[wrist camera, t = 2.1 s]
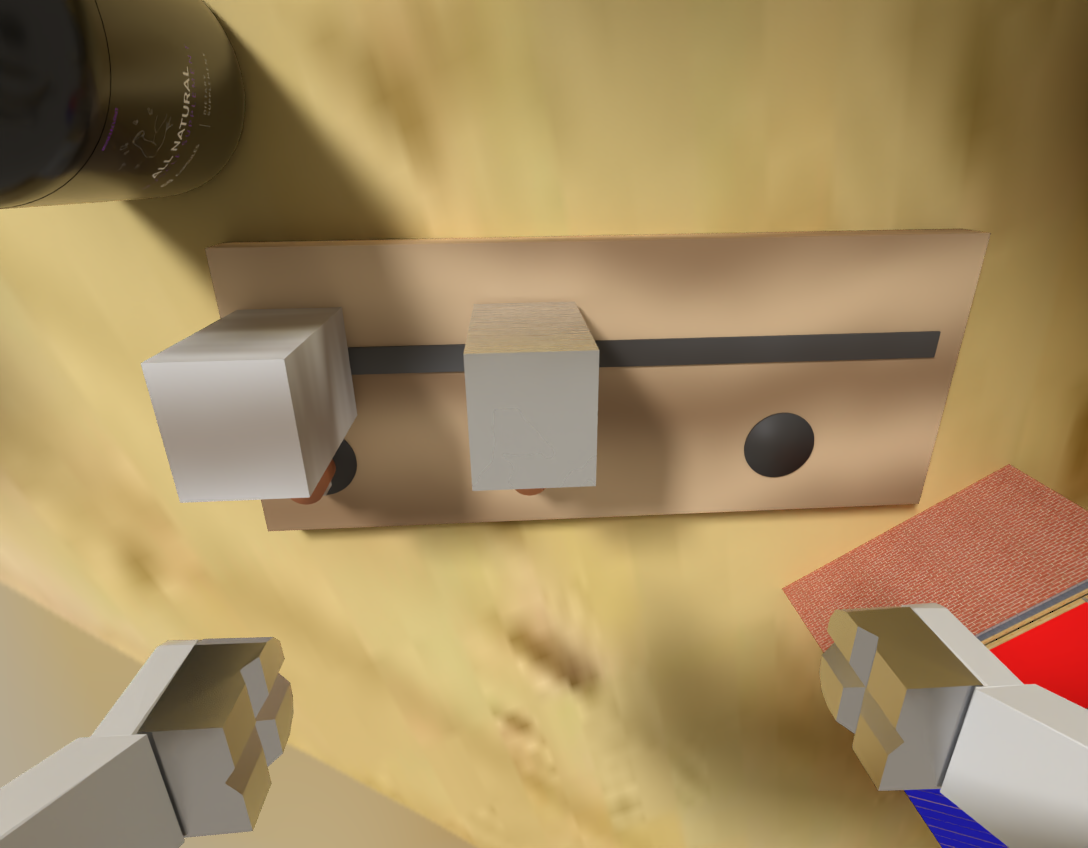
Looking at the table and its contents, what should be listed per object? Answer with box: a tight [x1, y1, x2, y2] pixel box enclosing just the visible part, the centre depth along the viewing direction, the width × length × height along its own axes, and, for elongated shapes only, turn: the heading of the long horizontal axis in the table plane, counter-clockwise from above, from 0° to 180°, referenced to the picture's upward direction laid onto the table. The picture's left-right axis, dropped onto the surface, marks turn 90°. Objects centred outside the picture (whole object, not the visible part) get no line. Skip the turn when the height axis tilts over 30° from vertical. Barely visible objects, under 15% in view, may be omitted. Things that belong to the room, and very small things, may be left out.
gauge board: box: [141, 229, 991, 531], centre depth 21 cm, size 11×27×8 cm, turn 91°
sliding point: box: [463, 302, 599, 496], centre depth 20 cm, size 7×4×6 cm, turn 1°
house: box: [783, 464, 1088, 848], centre depth 27 cm, size 12×20×12 cm, turn 34°
